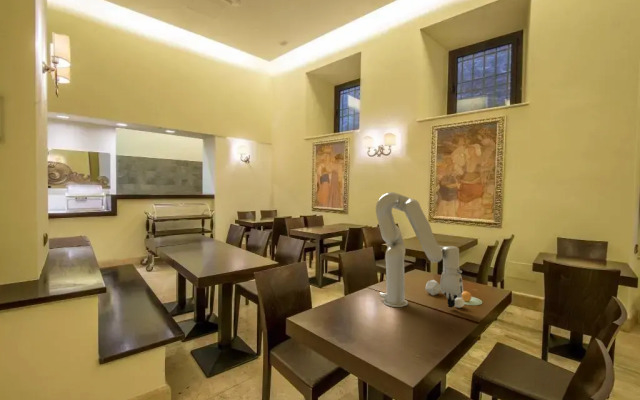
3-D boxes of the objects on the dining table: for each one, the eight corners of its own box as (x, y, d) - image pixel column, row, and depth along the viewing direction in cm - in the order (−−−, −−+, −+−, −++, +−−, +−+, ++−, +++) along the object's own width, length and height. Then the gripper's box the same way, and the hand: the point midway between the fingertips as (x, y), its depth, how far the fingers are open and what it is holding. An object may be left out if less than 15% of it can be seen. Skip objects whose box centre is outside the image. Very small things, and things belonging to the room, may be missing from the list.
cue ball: (459, 293, 158) (459, 301, 160) (450, 296, 157) (450, 304, 159) (467, 299, 153) (466, 308, 155) (458, 302, 152) (457, 311, 154)
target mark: (451, 301, 164) (451, 301, 164) (456, 294, 175) (456, 294, 175) (480, 307, 156) (480, 306, 156) (483, 299, 167) (483, 298, 167)
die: (443, 297, 172) (444, 281, 177) (433, 292, 169) (434, 275, 175) (431, 298, 179) (432, 283, 184) (421, 293, 176) (422, 277, 181)
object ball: (461, 287, 165) (465, 291, 168) (456, 296, 164) (460, 299, 168) (471, 292, 161) (474, 295, 164) (466, 301, 160) (470, 304, 163)
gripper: (469, 272, 149) (469, 308, 150) (440, 266, 161) (440, 300, 161) (462, 275, 145) (462, 313, 145) (433, 269, 156) (433, 304, 156)
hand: (451, 306), depth 153 cm, fingers closed
